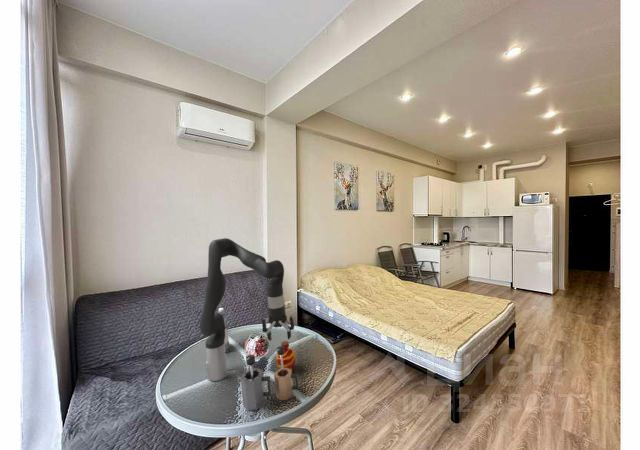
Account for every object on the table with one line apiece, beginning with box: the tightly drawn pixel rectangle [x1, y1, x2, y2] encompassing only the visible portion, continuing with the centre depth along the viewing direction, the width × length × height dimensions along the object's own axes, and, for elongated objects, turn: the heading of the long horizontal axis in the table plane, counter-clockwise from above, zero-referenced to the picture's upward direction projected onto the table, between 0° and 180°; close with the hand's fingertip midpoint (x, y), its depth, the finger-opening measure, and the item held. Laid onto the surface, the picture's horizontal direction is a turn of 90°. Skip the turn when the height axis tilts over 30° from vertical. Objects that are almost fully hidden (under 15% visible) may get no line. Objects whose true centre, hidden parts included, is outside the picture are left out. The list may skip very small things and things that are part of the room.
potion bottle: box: [276, 340, 296, 372], centre depth 136 cm, size 10×10×15 cm
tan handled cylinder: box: [273, 368, 300, 401], centre depth 118 cm, size 10×8×10 cm
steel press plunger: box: [245, 354, 256, 379], centre depth 114 cm, size 4×4×19 cm
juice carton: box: [215, 307, 230, 353], centre depth 162 cm, size 9×10×27 cm
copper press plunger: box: [276, 345, 285, 376], centre depth 118 cm, size 3×3×15 cm
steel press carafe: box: [240, 367, 273, 412], centre depth 114 cm, size 12×9×13 cm
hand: (279, 339), depth 117 cm, fingers open, 8 cm apart
